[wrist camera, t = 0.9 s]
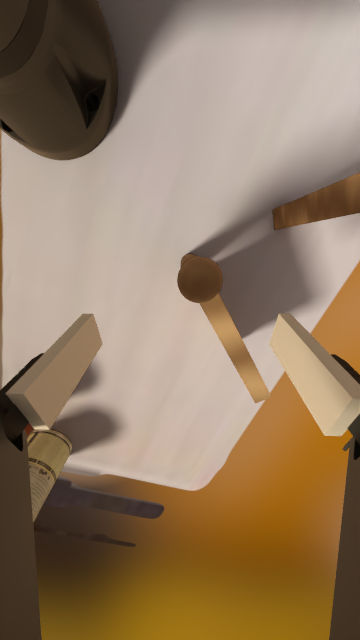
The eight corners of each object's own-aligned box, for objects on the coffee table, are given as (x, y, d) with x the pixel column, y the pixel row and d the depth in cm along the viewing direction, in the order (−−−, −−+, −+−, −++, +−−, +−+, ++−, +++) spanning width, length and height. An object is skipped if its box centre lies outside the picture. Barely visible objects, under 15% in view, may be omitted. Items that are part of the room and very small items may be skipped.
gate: (189, 277, 26) (196, 296, 16) (201, 271, 26) (215, 286, 15) (229, 349, 30) (255, 403, 20) (239, 345, 30) (271, 396, 19)
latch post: (269, 207, 24) (392, 150, 10) (294, 200, 24) (457, 130, 10) (271, 233, 25) (384, 214, 11) (295, 226, 25) (442, 198, 11)
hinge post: (177, 254, 26) (172, 263, 10) (198, 250, 26) (225, 253, 10) (181, 275, 27) (181, 312, 12) (201, 271, 27) (229, 304, 11)
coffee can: (67, 463, 44) (18, 556, 30) (23, 451, 42) (-49, 543, 29) (77, 436, 40) (27, 527, 27) (29, 422, 39) (-50, 511, 25)
